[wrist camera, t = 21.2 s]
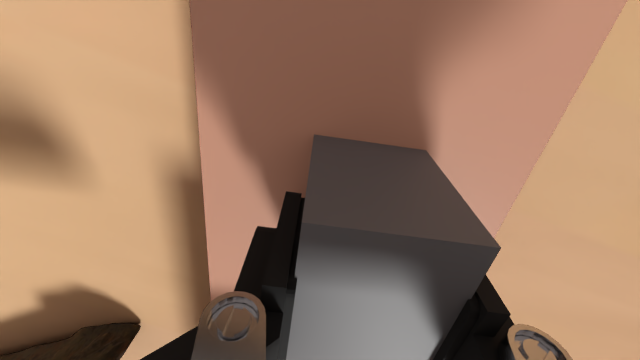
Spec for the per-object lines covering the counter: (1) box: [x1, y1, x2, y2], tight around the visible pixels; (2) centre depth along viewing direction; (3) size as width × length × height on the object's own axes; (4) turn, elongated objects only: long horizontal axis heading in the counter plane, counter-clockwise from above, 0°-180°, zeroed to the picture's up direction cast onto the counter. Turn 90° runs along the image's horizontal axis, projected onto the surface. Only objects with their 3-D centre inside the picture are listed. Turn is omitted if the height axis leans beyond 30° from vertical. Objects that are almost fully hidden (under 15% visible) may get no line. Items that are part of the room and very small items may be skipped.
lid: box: [190, 0, 627, 360], centre depth 10 cm, size 12×17×7 cm
